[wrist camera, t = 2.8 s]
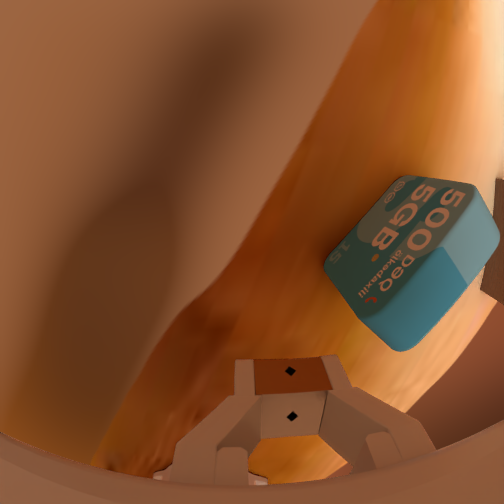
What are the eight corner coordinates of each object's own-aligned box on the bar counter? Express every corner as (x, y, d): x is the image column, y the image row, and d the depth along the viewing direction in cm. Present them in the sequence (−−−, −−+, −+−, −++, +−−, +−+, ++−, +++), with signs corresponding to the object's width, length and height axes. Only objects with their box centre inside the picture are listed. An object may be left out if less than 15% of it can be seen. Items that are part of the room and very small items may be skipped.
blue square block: (400, 173, 26) (484, 184, 14) (425, 205, 27) (508, 232, 15) (318, 264, 28) (364, 328, 16) (348, 292, 29) (401, 361, 17)
